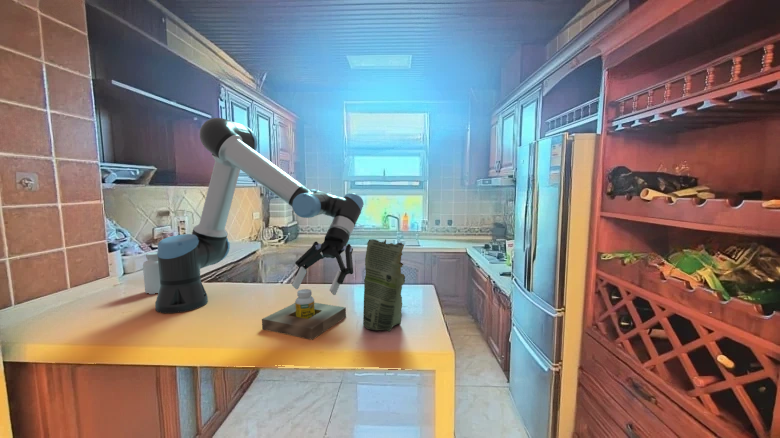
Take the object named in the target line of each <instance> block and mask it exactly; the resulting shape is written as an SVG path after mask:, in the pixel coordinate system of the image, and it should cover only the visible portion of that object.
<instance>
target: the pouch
mask: <svg viewBox="0 0 780 438" xmlns="http://www.w3.org/2000/svg"><path fill="white" fill-rule="evenodd" d="M404 247H405V244H404V243H402V242H397V243H392V242H391V243H387V239H384V240H383V241H380V240H377V239H372V238H371V239H368V241H367V243H366V250H365V251H366V252H365V258H364V267H365V277H364V280H363V282H364V288H363V289H364V291H363V318H362V319H363V321H362V323H363V326H364V327H365V328H366V329H368V330H372V331H387V332H391V330H392V329H393V327H395V326H397V325H401V323H402V316H403V314H402V308H403V297H402V289H403V285H404V284H405V282H406V281H405V279H406V276H405V274H404V273H402V267H403V266H404V263H402V256H403V250H404Z"/></svg>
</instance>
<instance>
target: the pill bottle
mask: <svg viewBox="0 0 780 438" xmlns="http://www.w3.org/2000/svg"><path fill="white" fill-rule="evenodd" d="M157 252H158V251H153V252H148V253H146V254H145V258H146V260H145V261H144V262H143V264H142V269H143V271H142V272H143V282H144V283H143V284H144V292H145V294H147V293H149V294H148V295H156V294H155V293H158V292H159V289H160V275H159V264H158V256H157Z"/></svg>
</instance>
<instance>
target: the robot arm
mask: <svg viewBox="0 0 780 438" xmlns="http://www.w3.org/2000/svg"><path fill="white" fill-rule="evenodd" d="M199 139H200V142H201V144H202V145H203V147H204V148H205V149H206V150H207V151H209V152H210V153H211V156H212V158H213V160H214V164H213V168H212V172H211V177H210V181H209V184H208V188H207V192H206V196H205V200H204V204H203V208H202V211H201V216H200V219H199V223H198V224H197V225H195V226H193V228H192V232H191V233H187V234H186V233H185V234H178V235H172V236H171V235H170V236H168V237H165V238H163V239H161V240H160V241H159V242H158V243H157V251H156V252H157V256H158V264H159V275H160V289H159V292H158V294H157V296H156V300H155V311H156V312H157V313H160V312H161V313H162V314H177V313H183V312H189V311H192V310H196V309H200V308H201V307H203V306H205V305H207V304H208V302H209V300H208V294H207V292H206V290H205V287H204V285H203V283H202V280H201V269H203V268H206V267H208V266H212V265H215V264H218V263H219V262H222V261H223V260H224V259H225V258H226V257H227V256H228V255H229V252H230V249H231V248H230V247H231V245H230V244H231V243H230V242H229V239H228V232H227V231H226V224H227V222H228V217H229V213H230V211H231V206H232V202H233V199H234V195H235V191H236V188H237V183H238V179H239V176H240V172H241V171H242V172H243V173H244V174H246V175H247V176H249V177H250V178H252V179H253V180H254V181H255V182H257V183H258V184H259V185H261V186H263V187H264V188H265V189H267V190H268V191H270V192H271V193H273V195H275V196H276V197H277V198H280V200H282V201H283V202H285V203H286V204H287V205H289V206H290V207H292V210H293V211H294V213H295V215H297V217H300V218H304V219H305V218H306V219H309V218H310V219H311V218H314V217H316V216H320V215H324V216H329V217H332V218H333V220H332V221H331V223H330V225H329V227H328V230H327V231H326V233H325V236H324V240H323V242H322V243H319V242H318V241H314V242H313V244H312V246H311V247H310V248H309V249H307V250H306V251H305V252H304V254H302V255H301V256H300V257H299V258H298V259H297V260H296V261H295V265H296V266H297V267H298V268H297V270H296V272H295V274H294V276H295V278H294V279H293V281H292V283H291V286H292V287H293V288H294V289H295V290H299V288H300V286H301V284H302V282H303V281H304V278H305V276H306V273H307V269H309V268H310V267H311V266H312V265H315V263H317V262H319V261H320V260H323V259H325V258H327V259H329V258H330V259H335V260H336V261H337V265H338V266H339V270H337V272H336V274H335V276H334V279H333V281H332V283H331V286H330V288H329V292H331V294H332V295H333V296H336V295H337V293H338V290H339V288H340V285H342V284H343V283H344V282H345V278H346V276H347V275H353V274H354V265H353V256H352V255H353V251H354V248H353V247H352V245H351V244H350V243H349V244H348V242H349V240H350V238H351V235H352V234H353V231H354V229H355V227H356V224H357V221H358V219H359V217H360V215H361V214H362V210H363V207H364V199H363V198H362V196H360V195H358V194H356V193H354V192H351V193H350V192H348V193H346V194H345V195H344V196H343V197H342V196H338V195H334V194H332V193H331V194H330V193H328V192H325V191H322V190H320V189H319V190H318V189H314V188H311V189H309V188H307V187H306V186H305V185H304V184H302V183H300V182H299V180H297V179H295V178H293V177H292V176H291V175H290V174H288V173H287V172H285V171H284V170H282V169H281V168H280V167H278V166H277V165H276V164H274V163H273V162H271V161H270V160H269V159H267V158H266V157H264V156H263V155H262V154H260V153H259V152H257V148H258V139H257V135H256V134H255V132H254V130H252V129H251V128H250V127H249V126H246V125H244V124H242V123H239V122H235V121H232V120H228V119H227V118H226V119H225V118H223V117H213V118H210V119H208V120H206V121H205V122H203V124H202V125H201V126H200V129H199ZM343 252H344V253H345V254H344V255H345V263H346V266H345V263H344V261H343V257H342V256H341V254H342V253H343Z"/></svg>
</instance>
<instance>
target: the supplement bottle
mask: <svg viewBox="0 0 780 438" xmlns="http://www.w3.org/2000/svg"><path fill="white" fill-rule="evenodd" d="M296 293H297V298H296V299H295V302H294V303H295V304H296V317H300V318H305V319H309V318H311V317H312V316H314V315H315V308H314V303H315V298H314V297H313V296H312V290H311V289H309V288H305V289H298V291H297V292H296Z"/></svg>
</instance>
